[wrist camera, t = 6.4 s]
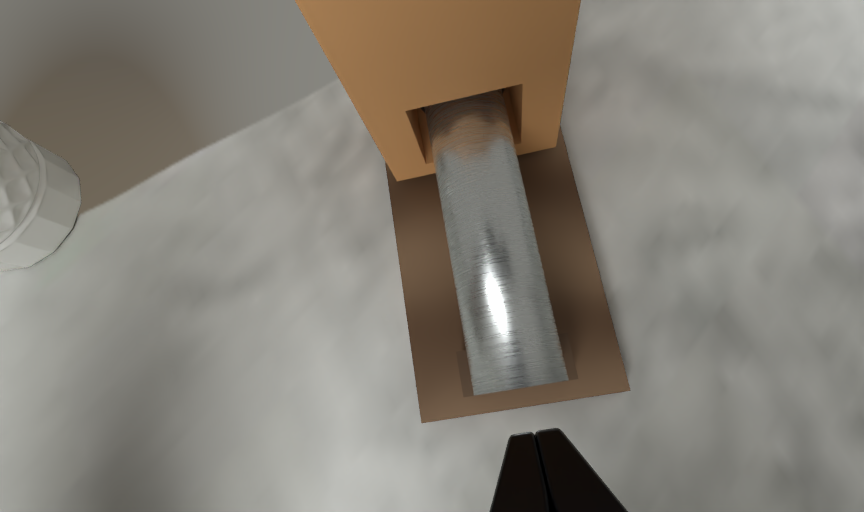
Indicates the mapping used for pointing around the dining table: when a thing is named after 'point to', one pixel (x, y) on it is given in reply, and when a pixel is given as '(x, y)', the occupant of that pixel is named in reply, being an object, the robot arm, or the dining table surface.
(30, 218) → the white cup
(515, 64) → the tan block
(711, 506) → the dining table surface
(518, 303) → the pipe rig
